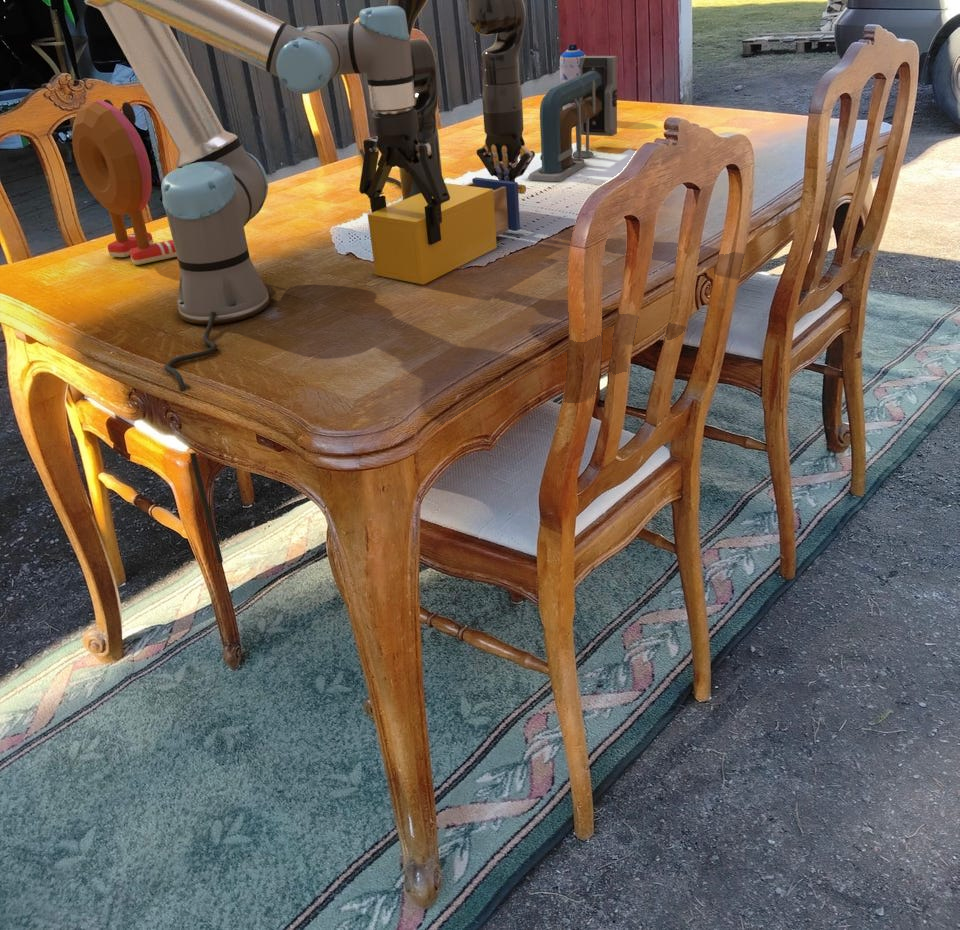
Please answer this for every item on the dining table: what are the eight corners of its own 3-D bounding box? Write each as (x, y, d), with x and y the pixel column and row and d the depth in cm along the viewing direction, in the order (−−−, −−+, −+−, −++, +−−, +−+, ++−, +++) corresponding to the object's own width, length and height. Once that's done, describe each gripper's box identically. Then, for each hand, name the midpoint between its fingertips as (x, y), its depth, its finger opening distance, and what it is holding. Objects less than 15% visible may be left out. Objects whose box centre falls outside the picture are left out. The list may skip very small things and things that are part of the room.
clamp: (559, 181, 220) (556, 82, 210) (525, 179, 224) (520, 82, 214) (617, 145, 246) (616, 55, 235) (585, 144, 250) (583, 55, 239)
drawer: (497, 214, 199) (494, 169, 194) (538, 220, 194) (536, 174, 189) (412, 253, 181) (407, 205, 177) (455, 261, 176) (450, 211, 171)
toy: (194, 256, 192) (157, 98, 177) (148, 271, 186) (106, 109, 171) (139, 239, 206) (100, 90, 190) (95, 253, 199) (51, 100, 184)
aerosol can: (559, 122, 275) (557, 47, 265) (562, 117, 282) (559, 42, 272) (587, 121, 274) (585, 45, 263) (589, 115, 280) (587, 41, 270)
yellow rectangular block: (450, 240, 190) (445, 182, 184) (496, 247, 184) (493, 188, 178) (375, 275, 175) (367, 214, 170) (423, 284, 169) (416, 221, 163)
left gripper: (464, 108, 156) (474, 240, 167) (357, 101, 169) (373, 224, 180) (434, 118, 151) (447, 253, 162) (327, 110, 164) (345, 235, 175)
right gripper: (542, 104, 182) (546, 196, 191) (486, 101, 190) (492, 190, 198) (519, 112, 177) (524, 206, 186) (463, 109, 185) (470, 199, 193)
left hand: (408, 237), depth 171 cm, fingers closed on yellow rectangular block, 11 cm apart
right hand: (507, 198), depth 192 cm, fingers closed
